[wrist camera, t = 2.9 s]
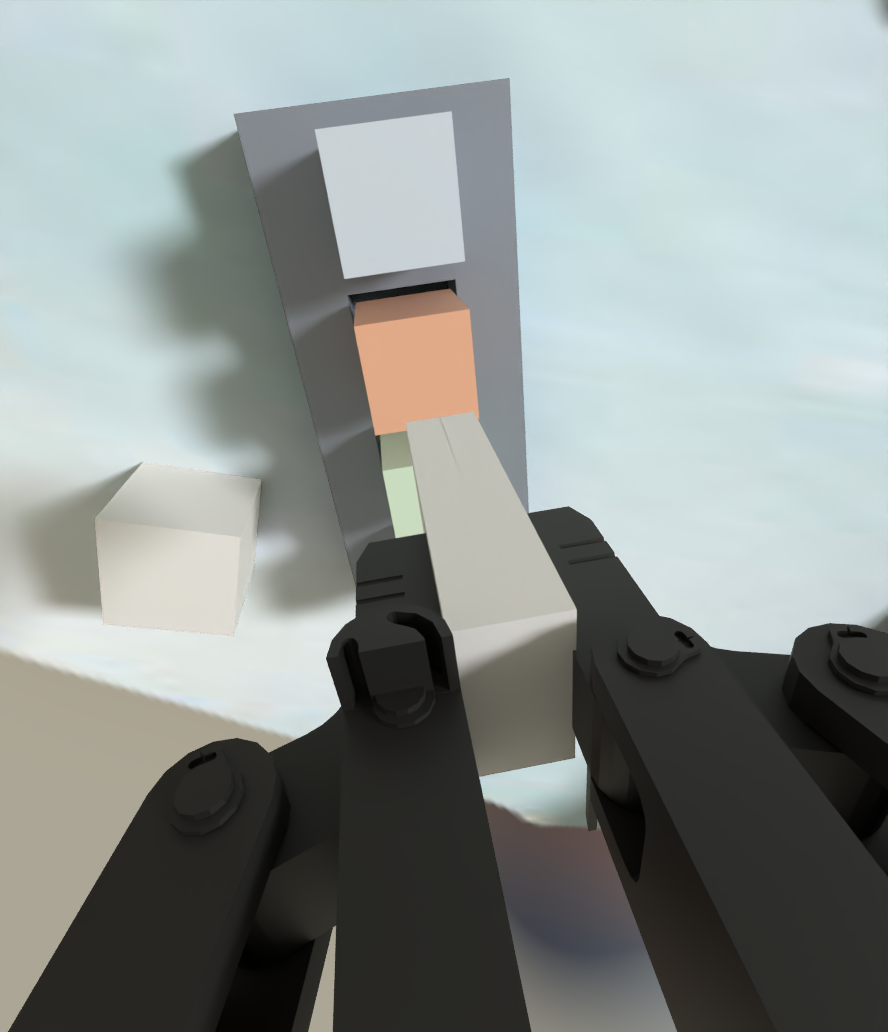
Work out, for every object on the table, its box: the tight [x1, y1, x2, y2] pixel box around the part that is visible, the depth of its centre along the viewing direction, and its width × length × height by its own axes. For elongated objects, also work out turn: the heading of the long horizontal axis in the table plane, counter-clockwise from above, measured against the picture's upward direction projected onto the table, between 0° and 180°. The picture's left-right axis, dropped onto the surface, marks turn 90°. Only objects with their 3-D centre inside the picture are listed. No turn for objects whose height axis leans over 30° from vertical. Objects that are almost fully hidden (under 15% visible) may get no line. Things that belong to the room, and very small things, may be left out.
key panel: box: [234, 78, 529, 587], centre depth 27 cm, size 23×10×3 cm, turn 7°
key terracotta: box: [354, 289, 479, 436], centre depth 22 cm, size 4×4×5 cm
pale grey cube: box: [94, 462, 262, 636], centre depth 28 cm, size 6×6×6 cm
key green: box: [380, 431, 424, 538], centre depth 24 cm, size 4×4×5 cm
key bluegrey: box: [315, 111, 465, 279], centre depth 19 cm, size 4×4×5 cm
